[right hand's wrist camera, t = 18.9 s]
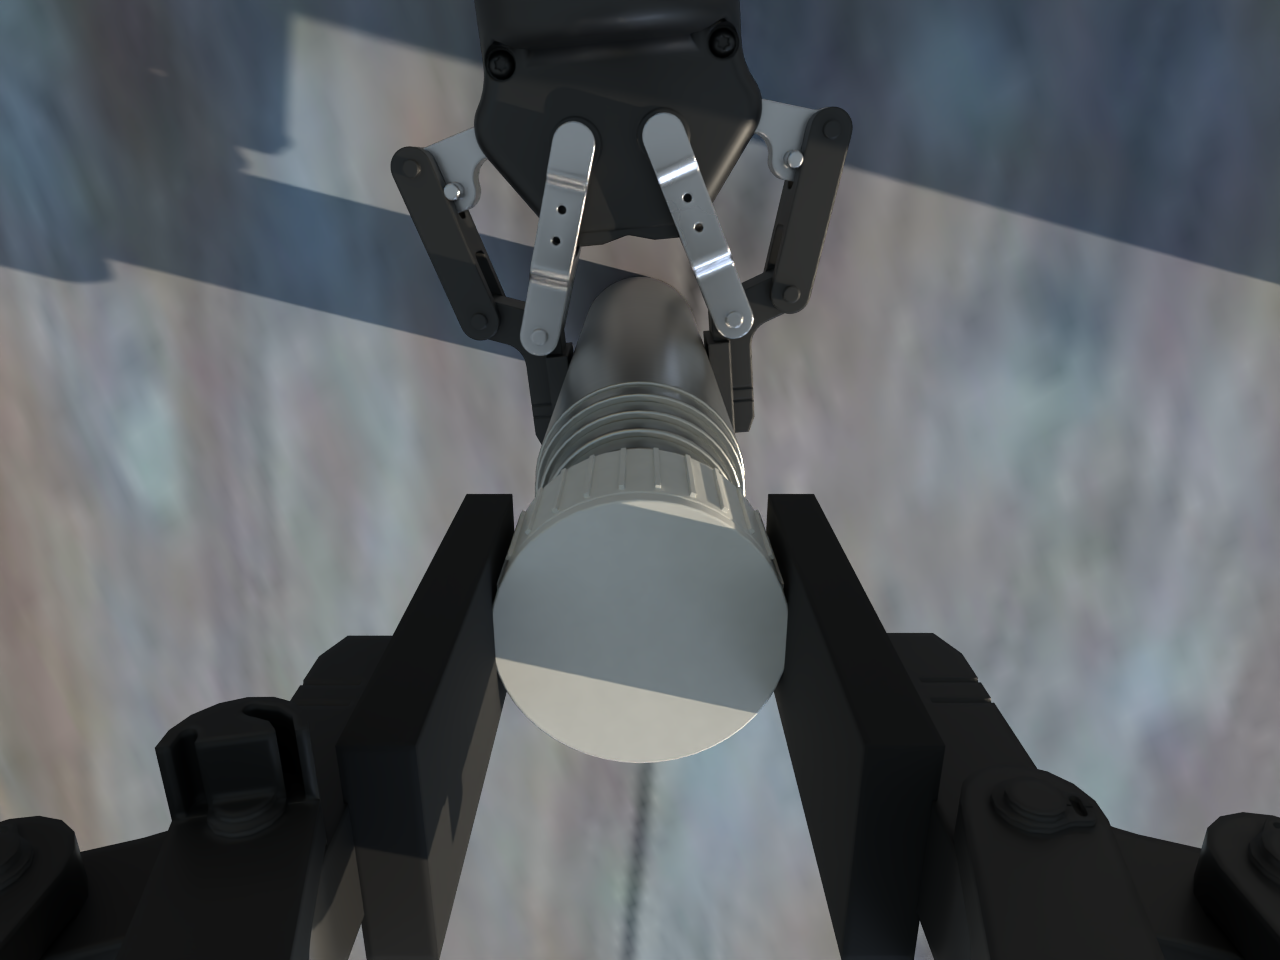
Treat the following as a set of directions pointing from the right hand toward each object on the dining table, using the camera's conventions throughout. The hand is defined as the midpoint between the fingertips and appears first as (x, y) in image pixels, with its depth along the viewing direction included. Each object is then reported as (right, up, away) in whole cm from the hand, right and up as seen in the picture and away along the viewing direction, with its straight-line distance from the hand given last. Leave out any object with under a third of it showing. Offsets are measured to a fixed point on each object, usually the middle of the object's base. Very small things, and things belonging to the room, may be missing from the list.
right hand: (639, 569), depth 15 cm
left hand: (0, +3, +15) cm, 15 cm away
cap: (0, -1, -2) cm, 2 cm away
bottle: (0, +7, +20) cm, 21 cm away
